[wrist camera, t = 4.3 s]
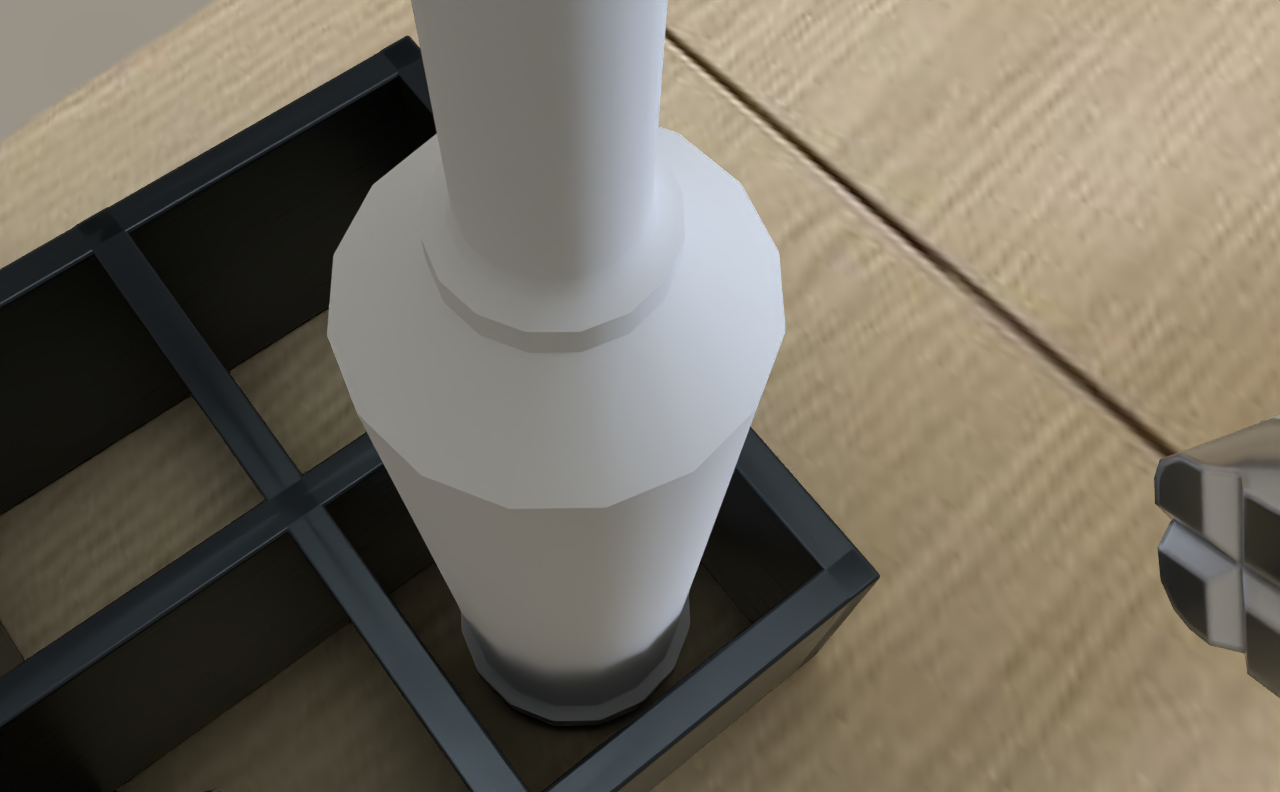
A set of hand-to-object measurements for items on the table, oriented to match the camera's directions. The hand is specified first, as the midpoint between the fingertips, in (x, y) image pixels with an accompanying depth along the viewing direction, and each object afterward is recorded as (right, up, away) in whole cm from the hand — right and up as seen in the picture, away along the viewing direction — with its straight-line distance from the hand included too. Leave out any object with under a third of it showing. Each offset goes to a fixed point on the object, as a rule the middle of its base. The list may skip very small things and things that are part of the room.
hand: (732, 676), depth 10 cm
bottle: (-2, -3, +19) cm, 19 cm away
